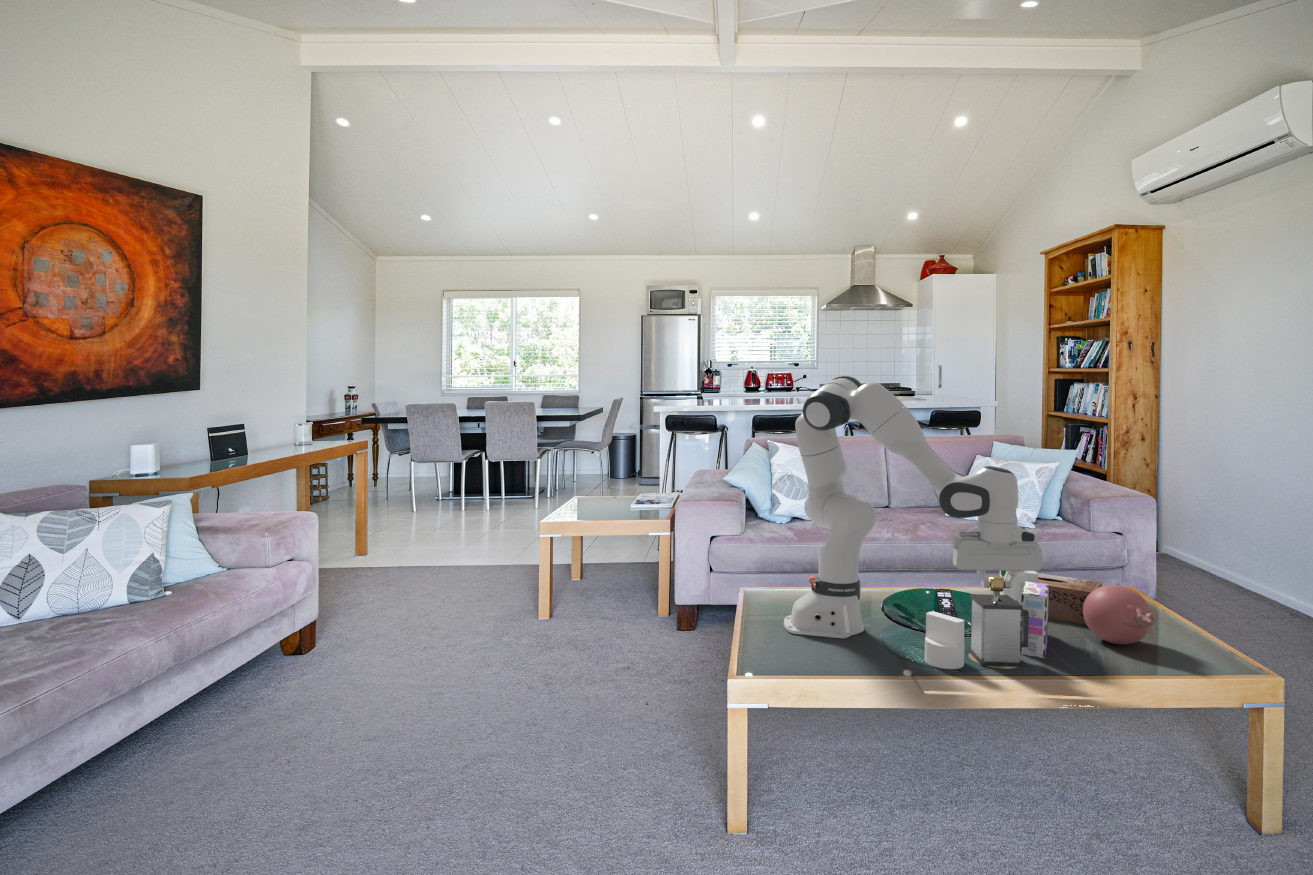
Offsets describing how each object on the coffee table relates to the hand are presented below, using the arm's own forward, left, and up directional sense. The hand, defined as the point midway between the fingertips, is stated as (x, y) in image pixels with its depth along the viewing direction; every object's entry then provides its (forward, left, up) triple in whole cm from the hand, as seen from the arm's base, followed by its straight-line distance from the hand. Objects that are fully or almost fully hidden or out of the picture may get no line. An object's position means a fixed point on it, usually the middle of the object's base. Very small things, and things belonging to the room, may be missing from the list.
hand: (996, 587), depth 170 cm
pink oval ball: (+37, +14, -19) cm, 44 cm away
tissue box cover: (+31, +43, -19) cm, 56 cm away
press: (+1, 0, -18) cm, 18 cm away
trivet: (0, 0, -19) cm, 19 cm away
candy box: (+13, +9, -19) cm, 25 cm away
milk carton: (+14, +22, -19) cm, 32 cm away
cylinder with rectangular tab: (-13, -3, -19) cm, 23 cm away
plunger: (0, 0, -14) cm, 14 cm away
